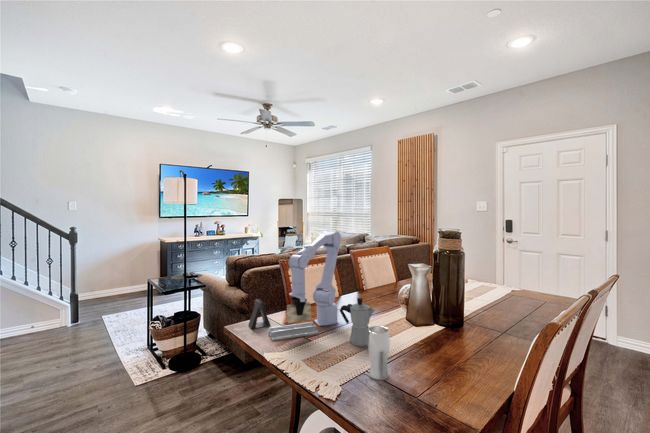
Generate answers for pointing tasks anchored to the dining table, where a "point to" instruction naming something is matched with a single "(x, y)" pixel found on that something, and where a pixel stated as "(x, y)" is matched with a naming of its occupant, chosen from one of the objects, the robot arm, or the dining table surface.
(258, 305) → the phone stand
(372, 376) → the beer glass
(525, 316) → the dining table surface
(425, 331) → the dining table surface
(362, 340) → the coffee maker
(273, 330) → the track
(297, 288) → the robot arm
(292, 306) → the door panel
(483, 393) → the dining table surface
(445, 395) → the dining table surface
